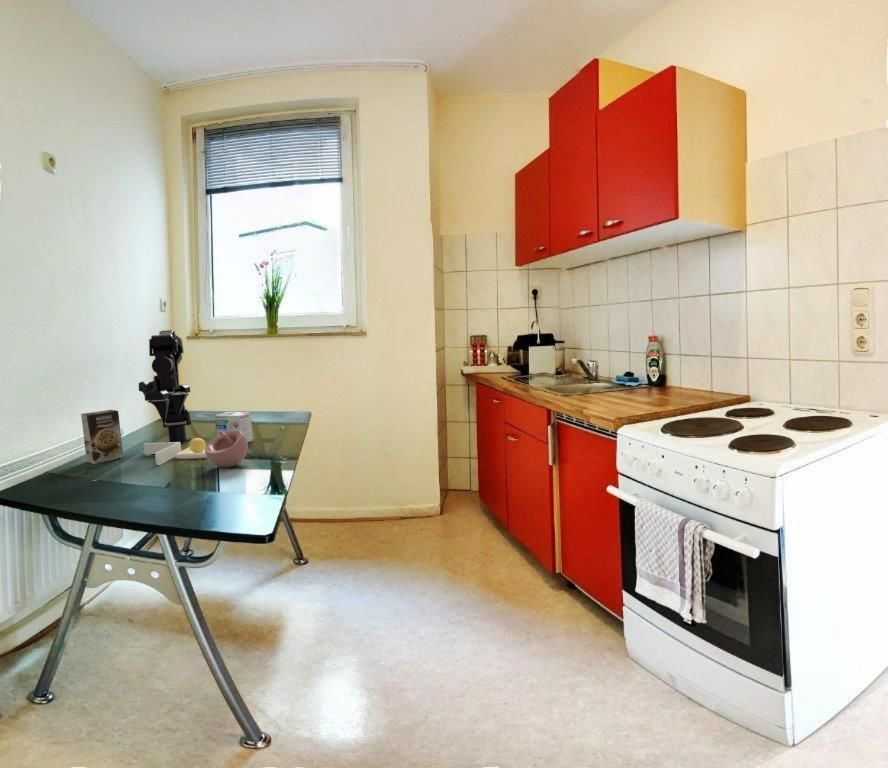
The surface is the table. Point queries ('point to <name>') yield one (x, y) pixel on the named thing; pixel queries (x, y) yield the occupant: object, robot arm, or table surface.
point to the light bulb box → (235, 423)
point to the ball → (197, 445)
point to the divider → (162, 450)
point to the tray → (190, 454)
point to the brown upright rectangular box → (102, 436)
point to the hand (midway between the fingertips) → (171, 417)
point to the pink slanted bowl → (227, 449)
